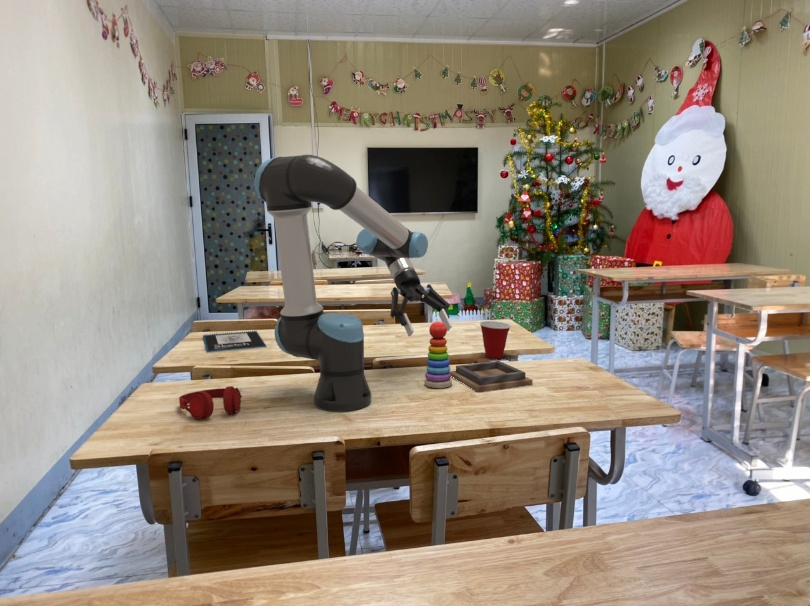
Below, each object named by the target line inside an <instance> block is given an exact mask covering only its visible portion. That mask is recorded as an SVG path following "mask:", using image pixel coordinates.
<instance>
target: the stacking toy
mask: <svg viewBox="0 0 810 606" xmlns="http://www.w3.org/2000/svg"><path fill="white" fill-rule="evenodd" d="M447 332H448V331H447V328H446V326H445V324H444V323H442V321H434V322H433V323H431V324H430V326H429V335H430V337H431V338H430V339H429V344H430V345H429V346H428V348H427V349H428V353H427V357H428V359H427V360H426V361H427V362H426V363H427V366H426V372H425V374H424V377H425V380H424V384H425V386H427V387H429V388H431V387H432V388H433V389H444V388H448V387H450V386H451V385H453V379H451V374H450V371H451V366H450V363H451V362H450V359H449V352H447V351H448V346H447V343H448V340H447V339H446V338H445V337H446V335H447ZM432 388H431V389H432Z"/></svg>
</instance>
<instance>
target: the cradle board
mask: <svg viewBox="0 0 810 606" xmlns="http://www.w3.org/2000/svg"><path fill="white" fill-rule="evenodd" d="M449 372H450V374H451V376H452V377H454V378H455V379H457V380H458V381H460V382H462V383H464V384H465V385H467V386H468V387H467V386H466V387H467V388H469V387H470V388H469V389H471V388H472V389H471V390H473V391H474V390H475V391H474V392H475V393H484V391H486V392H492V391H491V390H493V391H498V389H500V390H506V389H505V388H507V389H512V387H514V388H520V387H519V386H521V387H526V385H528V386H533V383H534V382H533V379H531V378H529V377H527V376H526V372H525V371H523V370H521V369H518V368H516V367H514V366H511V365H509V364H507V363H505V362H502V361H500V360H495V361H493V360H491V361H486V362H485V361H484V362H477V363H469V364H467V363H466V364H460V365H455V370H450V371H449ZM455 379H454V380H455ZM457 380H456V381H457ZM458 381H457V382H458ZM460 382H459V383H460ZM462 383H461V384H462ZM464 384H463V385H464ZM465 385H464V386H465Z"/></svg>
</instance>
